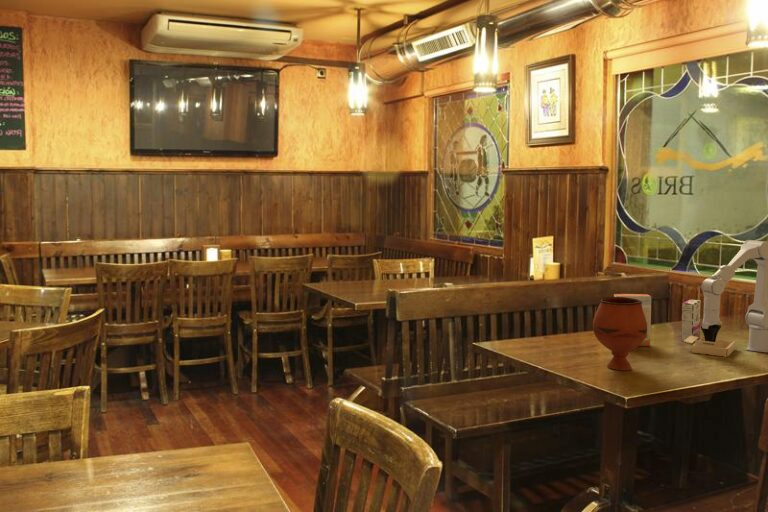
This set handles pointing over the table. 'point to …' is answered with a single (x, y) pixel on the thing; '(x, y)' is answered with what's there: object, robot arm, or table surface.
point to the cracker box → (646, 309)
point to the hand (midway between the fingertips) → (710, 344)
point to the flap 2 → (708, 343)
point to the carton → (715, 348)
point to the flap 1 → (691, 339)
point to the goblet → (620, 328)
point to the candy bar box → (690, 319)
